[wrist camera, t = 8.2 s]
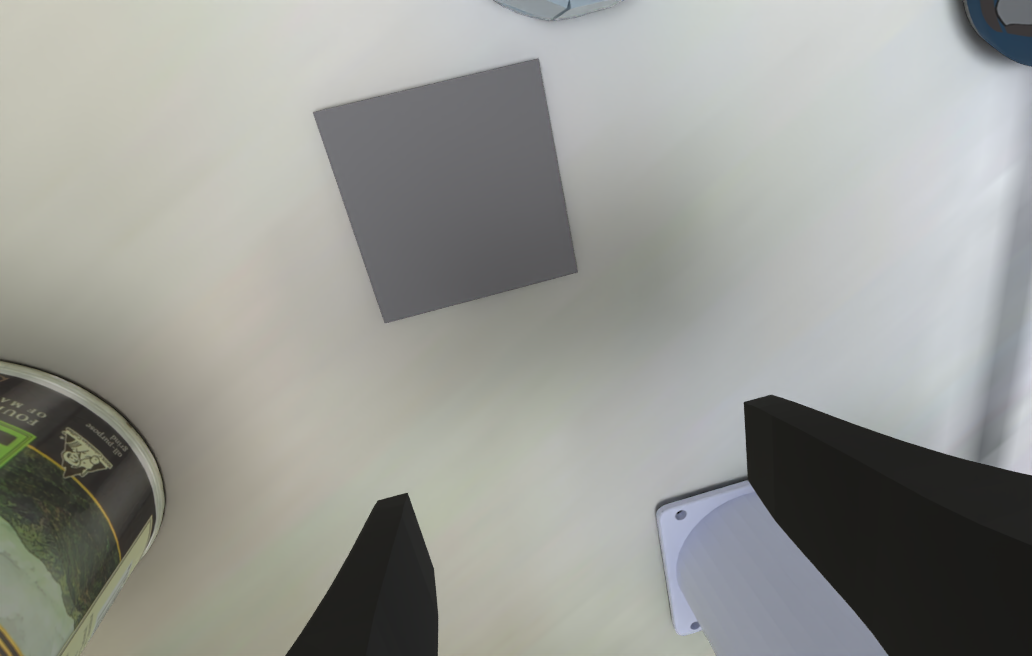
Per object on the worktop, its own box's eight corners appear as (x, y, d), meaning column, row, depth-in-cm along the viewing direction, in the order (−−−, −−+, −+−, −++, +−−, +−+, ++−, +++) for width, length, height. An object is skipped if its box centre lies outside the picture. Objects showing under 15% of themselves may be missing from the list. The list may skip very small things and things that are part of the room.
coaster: (535, 59, 18) (538, 58, 17) (574, 269, 20) (578, 272, 20) (315, 112, 17) (312, 112, 17) (385, 319, 20) (385, 323, 19)
